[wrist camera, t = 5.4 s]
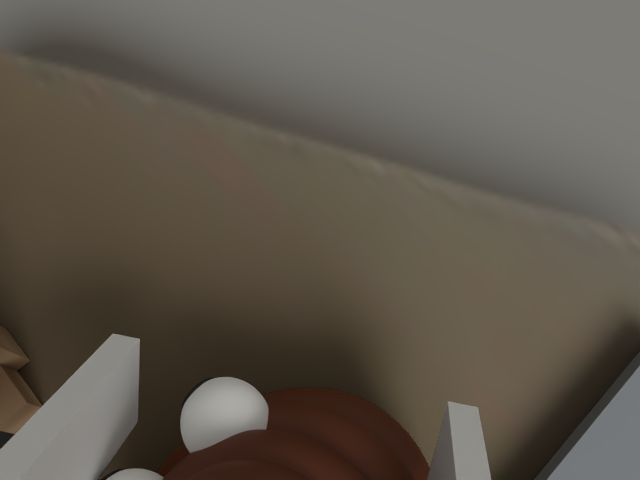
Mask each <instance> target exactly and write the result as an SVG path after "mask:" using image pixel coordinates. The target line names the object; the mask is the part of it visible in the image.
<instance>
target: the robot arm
mask: <svg viewBox="0 0 640 480" xmlns="http://www.w3.org/2000/svg"><path fill="white" fill-rule="evenodd" d="M139 355H140V339H138V338H133V337H128V336H123V335H118V334H112V335H111V336H110V337H109V338H108V339H107V340H106V341H105V342H104V343H103V344H102V345H101V346H100V347H99V348H98V349H97V350H96V351H95V352H94V353H93V354H92V355H91V357H90V358H89V359H88V360H87V361H86V362H85V363H84V364H83V365H82V366H81V367H80V368H79V369H78V370H77V371H76V372H75V373H74V374H73V375H72V376H71V377H70V378H69V379H68V380H67V381H66V382H65V383H64V384H63V385H62V386H61V387H60V388H59V389H58V390H57V392H56V393H55V394H54V395H53V396H52V397H51V398H50V399H49V400H48V401H47V402H46V403H45V404H44V405H43V406H42V407H41V408H40V409H39V410H38V411H37V412H36V413H35V414H34V415H33V416H32V417H31V418H30V419H29V420H28V421H27V422H26V423H25V424H24V426H23V427H22V428H21V429H20V430H19V431H18V432H17V433H16V434H12V433H8V432H3V431H0V480H98V479H99V477H100V476H101V474H102V473H103V472H104V470H105V469H106V467H107V466H108V464H109V463H110V461H111V460H112V458H113V457H114V456H115V454H116V453H117V451H118V450H119V448H120V447H121V445H122V444H123V442H124V441H125V440H126V438H127V437H128V435H129V434H130V432H131V431H132V429H133V428H134V426H135V425H136V424H137V422H138V395H139ZM427 480H491V475H490V470H489V465H488V459H487V454H486V449H485V443H484V438H483V432H482V427H481V422H480V416H479V411H478V407H474V406H469V405H464V404H459V403H454V402H449V401H448V403H447V406H446V410H445V414H444V418H443V421H442V425H441V429H440V433H439V436H438V440H437V444H436V448H435V452H434V455H433V459H432V463H431V467H430V470H429V474H428V478H427Z"/></svg>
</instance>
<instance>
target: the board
mask: <svg viewBox="0 0 640 480" xmlns="http://www.w3.org/2000/svg"><path fill="white" fill-rule="evenodd" d="M534 480H640V351H639V353H638V354H637V355H636V356H635V357H634V359H633V360H632V361H631V362H630V364H629V365H628V366H627V367H626V368H625V370H624V371H623V372H622V373H621V374H620V376H619V377H618V378H617V379H616V381H615V382H614V383H613V384H612V385H611V387H610V388H609V389H608V390H607V391H606V393H605V394H604V395H603V396H602V398H601V399H600V400H599V401H598V402H597V404H596V405H595V406H594V407H593V408H592V410H591V411H590V412H589V413H588V415H587V416H586V417H585V418H584V419H583V421H582V422H581V423H580V424H579V425H578V427H577V428H576V429H575V430H574V432H573V433H572V434H571V435H570V436H569V438H568V439H567V440H566V441H565V442H564V444H563V445H562V446H561V447H560V449H559V450H558V451H557V452H556V453H555V455H554V456H553V457H552V458H551V459H550V461H549V462H548V463H547V464H546V466H545V467H544V468H543V469H542V470H541V472H540V473H539V474H538V475H537V477H536V478H535V479H534Z"/></svg>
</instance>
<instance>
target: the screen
mask: <svg viewBox="0 0 640 480" xmlns="http://www.w3.org/2000/svg"><path fill="white" fill-rule="evenodd" d="M29 361H30V360H29V359H28V358H27V356H26V355H25V354H24V352H23V351H22V350H21V348H20V347H19V346H18V344H17V343H16V341H15V340H14V339H13V337H12V336H11V335H10V333H9V332H8V331H7V329H6V328H5V327H3V326H1V325H0V431H3V432H8V433H12V434H14V433H15V432H17V431H18V430H19V429H20V428H21V427H23V426H24V424H25V423H26V422H27V421H28V420H29V419H30V418H31V417H32V416H33V415H34V414H35V413H36V412H37V411H38V410H39V409H40V408H41V407H42V404H41V403H40V402H39V400H38V399H37V398H36V396H35V395H34V393H33V392H32V391H31V389H30V388H29V387H28V385H27V384H26V382H25V381H24V380H23V378H22V377H21V376H20V374H19V373H18V372H17V371H18V370H19V369H20V368H21V367H23V366H24V365H25V364H27V363H28V362H29Z"/></svg>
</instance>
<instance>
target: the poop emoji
mask: <svg viewBox="0 0 640 480" xmlns="http://www.w3.org/2000/svg"><path fill="white" fill-rule="evenodd" d="M180 428H181V434H182V438H183V441H184V442H183V443H182V444H181V445H180V446H179V447H178V448H177V449H176V450H175V451H174V453H173V454H172V455H171V456H170V457H169V458H168V459H167V460H166V461H165V462H164V464H163V465H162V466H161V467H160V469H159V470H158V471H157V473H155V472H153V471H150V470H146V469H139V468H133V469H118V470H115V471H113V472H111V473H110V474H108V475H106V476H105V477H104V478H102V479H101V480H427V478H428V474H429V470H430V468H429V466H428V463H427V461H426V460H425V458H424V456H423V454H422V452H421V451H420V449H419V448H418V446H417V445H416V443H415V442H414V440H413V439H412V438H411V436H410V435H409V434H408V433H407V432H406V430H405V429H404V428H403V427H402V426H401V425H400V424H399V423H398V422H397V421H396V420H395V419H393V418H392V417H391V416H390V415H389V414H387V413H386V412H385V411H383V410H382V409H380V408H379V407H377V406H376V405H374V404H372V403H370V402H368V401H366V400H364V399H362V398H360V397H357V396H355V395H352V394H349V393H345V392H342V391H337V390H332V389H325V388H294V389H286V390H281V391H276V392H272V393H268V394H264V395H261V394H260V393H259V392H258V390H257V389H255V388H254V387H253V386H252V385H250V384H249V383H247V382H245V381H243V380H240V379H237V378H232V377H218V378H208V379H205V380H203V381H202V382H200V383H199V384H198V385H196V386H195V387H194V388H193V389H192V390H191V391H190V392H189V393H188V395H187V396H186V398H185V399H184V401H183V403H182V412H181V418H180Z"/></svg>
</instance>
